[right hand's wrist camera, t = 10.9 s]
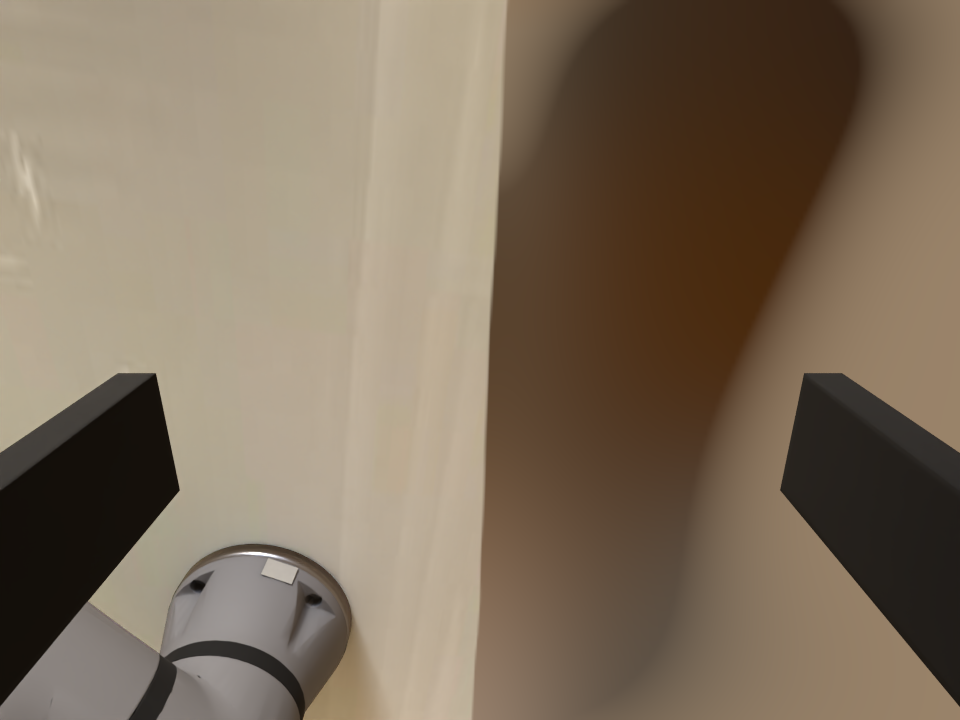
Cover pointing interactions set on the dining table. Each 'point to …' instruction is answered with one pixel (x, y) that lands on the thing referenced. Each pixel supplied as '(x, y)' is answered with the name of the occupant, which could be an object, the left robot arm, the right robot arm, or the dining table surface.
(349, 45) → the dining table surface
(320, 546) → the dining table surface
